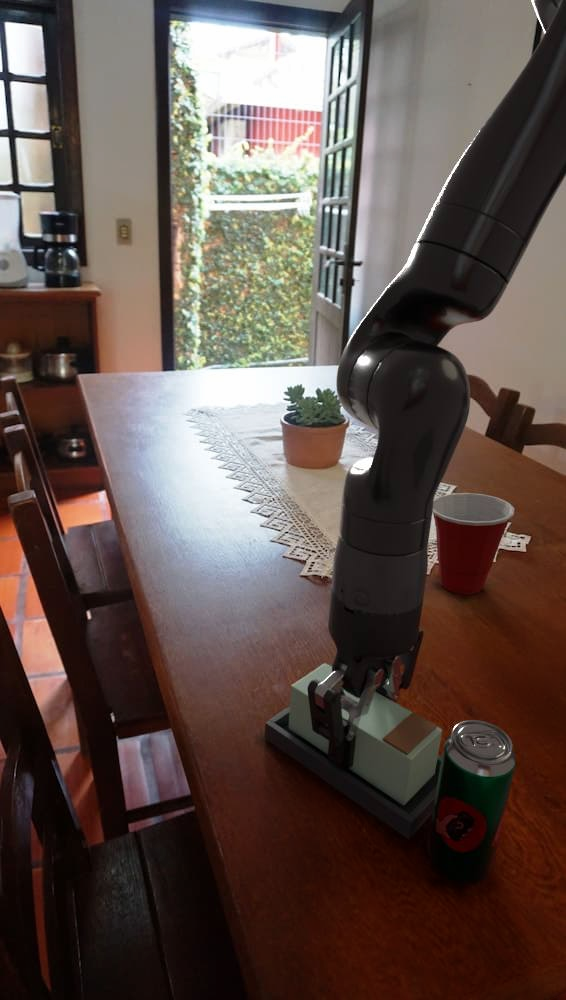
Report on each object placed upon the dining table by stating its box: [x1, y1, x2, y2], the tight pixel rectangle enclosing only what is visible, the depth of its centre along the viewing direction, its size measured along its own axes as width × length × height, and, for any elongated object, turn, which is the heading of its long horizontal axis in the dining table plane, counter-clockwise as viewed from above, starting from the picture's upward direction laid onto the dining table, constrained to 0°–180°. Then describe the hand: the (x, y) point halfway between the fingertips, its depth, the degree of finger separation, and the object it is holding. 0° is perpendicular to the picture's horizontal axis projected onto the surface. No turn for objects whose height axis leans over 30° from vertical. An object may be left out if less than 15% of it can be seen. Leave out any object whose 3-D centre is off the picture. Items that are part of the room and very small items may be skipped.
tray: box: [264, 705, 442, 841], centre depth 62 cm, size 8×16×2 cm, turn 47°
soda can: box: [426, 719, 517, 885], centre depth 51 cm, size 5×5×12 cm
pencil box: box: [289, 662, 443, 805], centre depth 61 cm, size 13×5×5 cm, turn 48°
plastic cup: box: [432, 492, 515, 595], centre depth 92 cm, size 11×11×12 cm
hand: (359, 747), depth 62 cm, fingers closed on pencil box, 5 cm apart
